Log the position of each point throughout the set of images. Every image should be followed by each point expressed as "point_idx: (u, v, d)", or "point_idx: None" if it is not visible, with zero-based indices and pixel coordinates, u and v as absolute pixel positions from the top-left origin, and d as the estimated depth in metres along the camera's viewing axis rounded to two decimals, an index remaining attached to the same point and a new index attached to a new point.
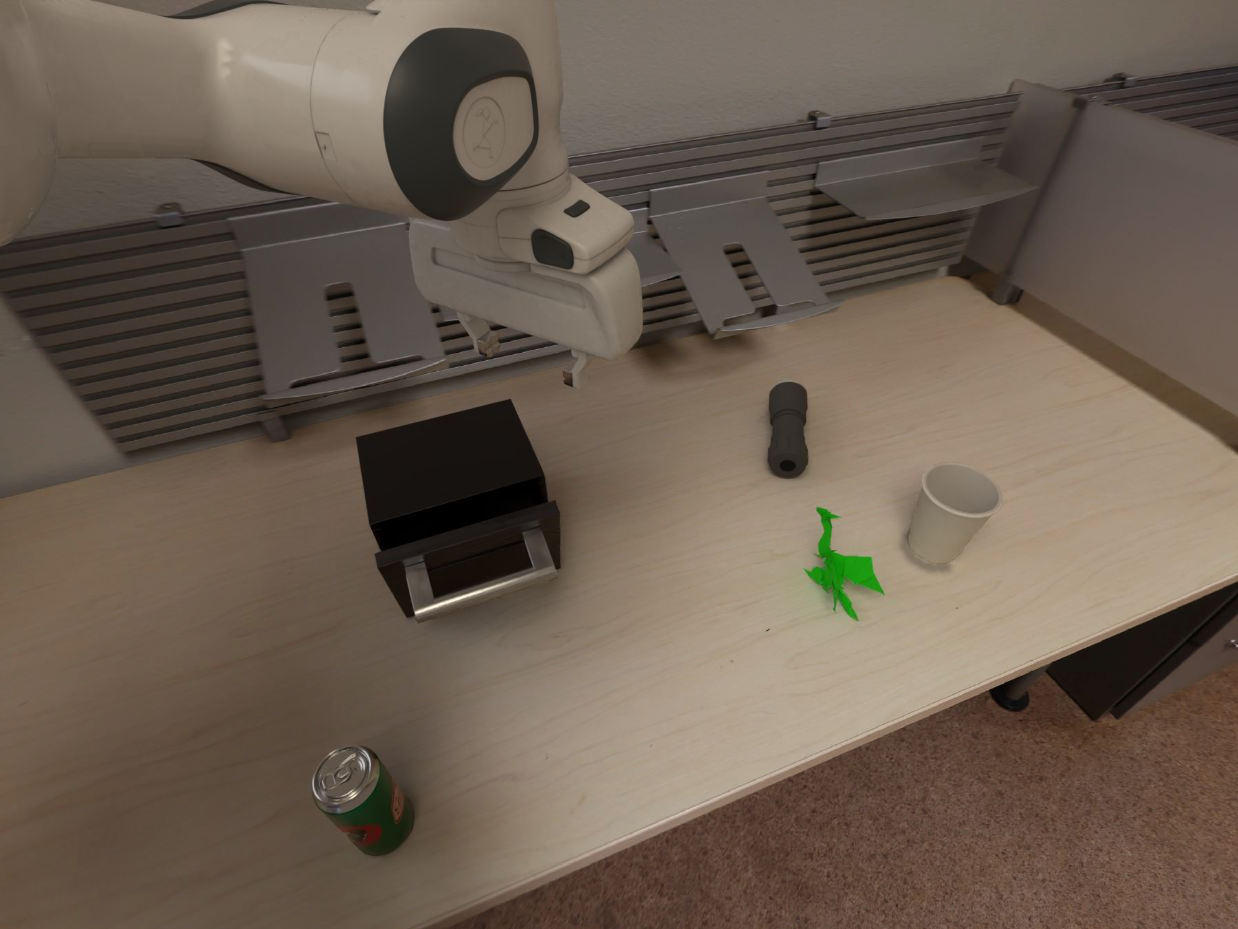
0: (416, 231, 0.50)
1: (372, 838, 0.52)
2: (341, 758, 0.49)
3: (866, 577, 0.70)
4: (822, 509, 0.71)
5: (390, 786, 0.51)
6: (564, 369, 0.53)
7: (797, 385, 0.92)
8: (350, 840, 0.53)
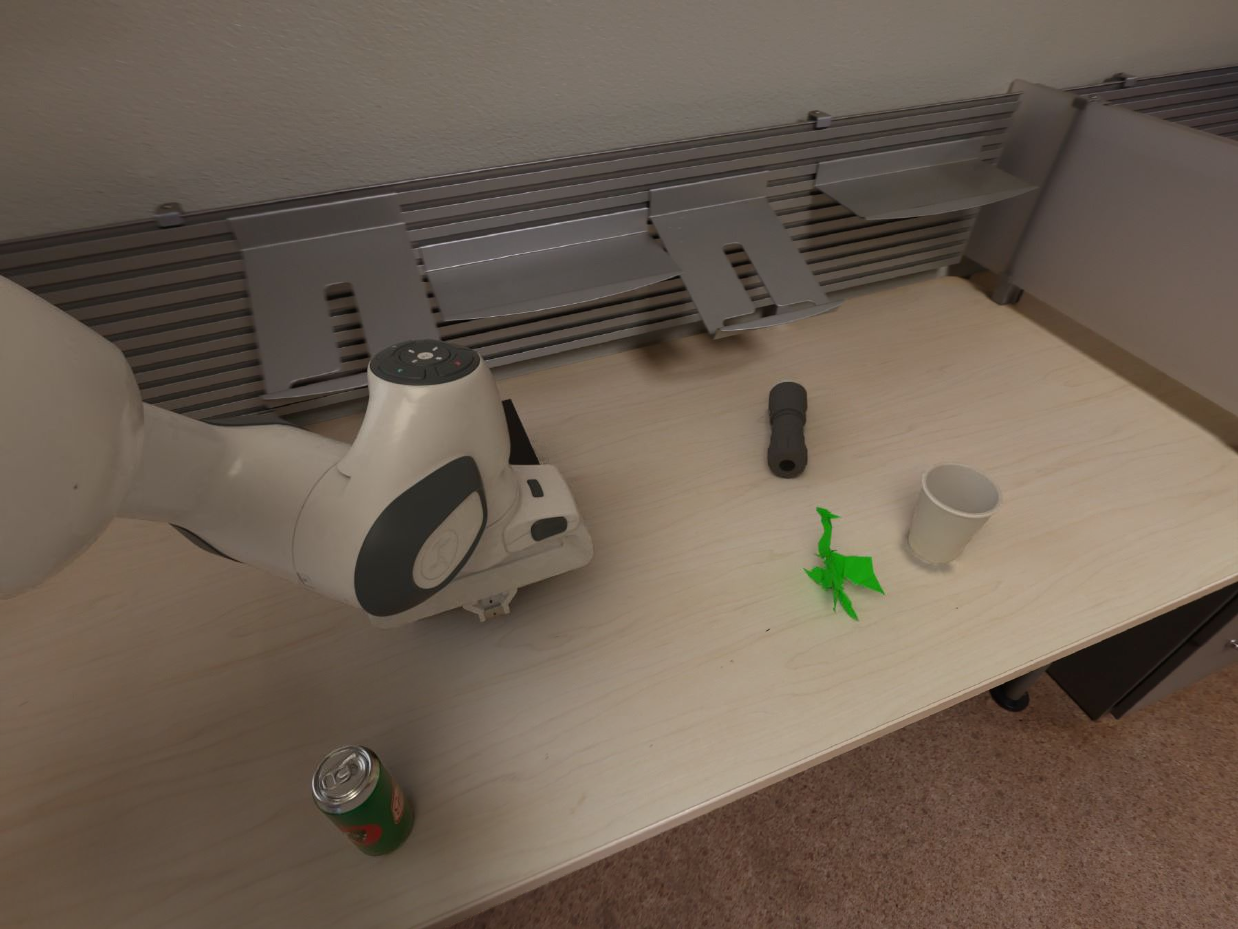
0: None
1: (372, 838, 0.52)
2: (341, 758, 0.49)
3: (866, 577, 0.70)
4: (822, 509, 0.71)
5: (390, 786, 0.51)
6: (494, 607, 0.61)
7: (797, 385, 0.92)
8: (350, 840, 0.53)
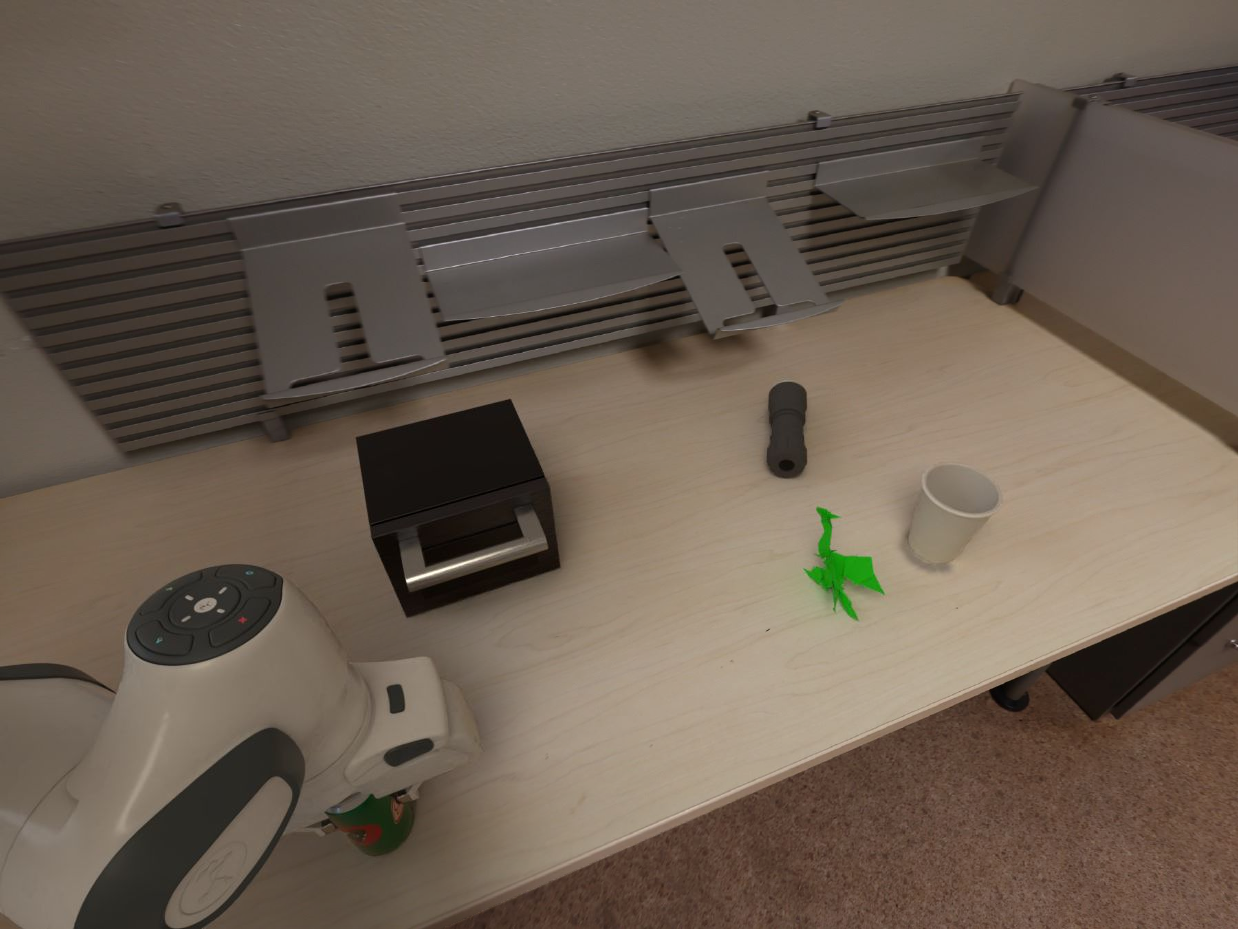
0: None
1: (372, 838, 0.52)
2: None
3: (866, 577, 0.70)
4: (822, 509, 0.71)
5: None
6: (398, 797, 0.52)
7: (796, 385, 0.92)
8: (350, 840, 0.53)
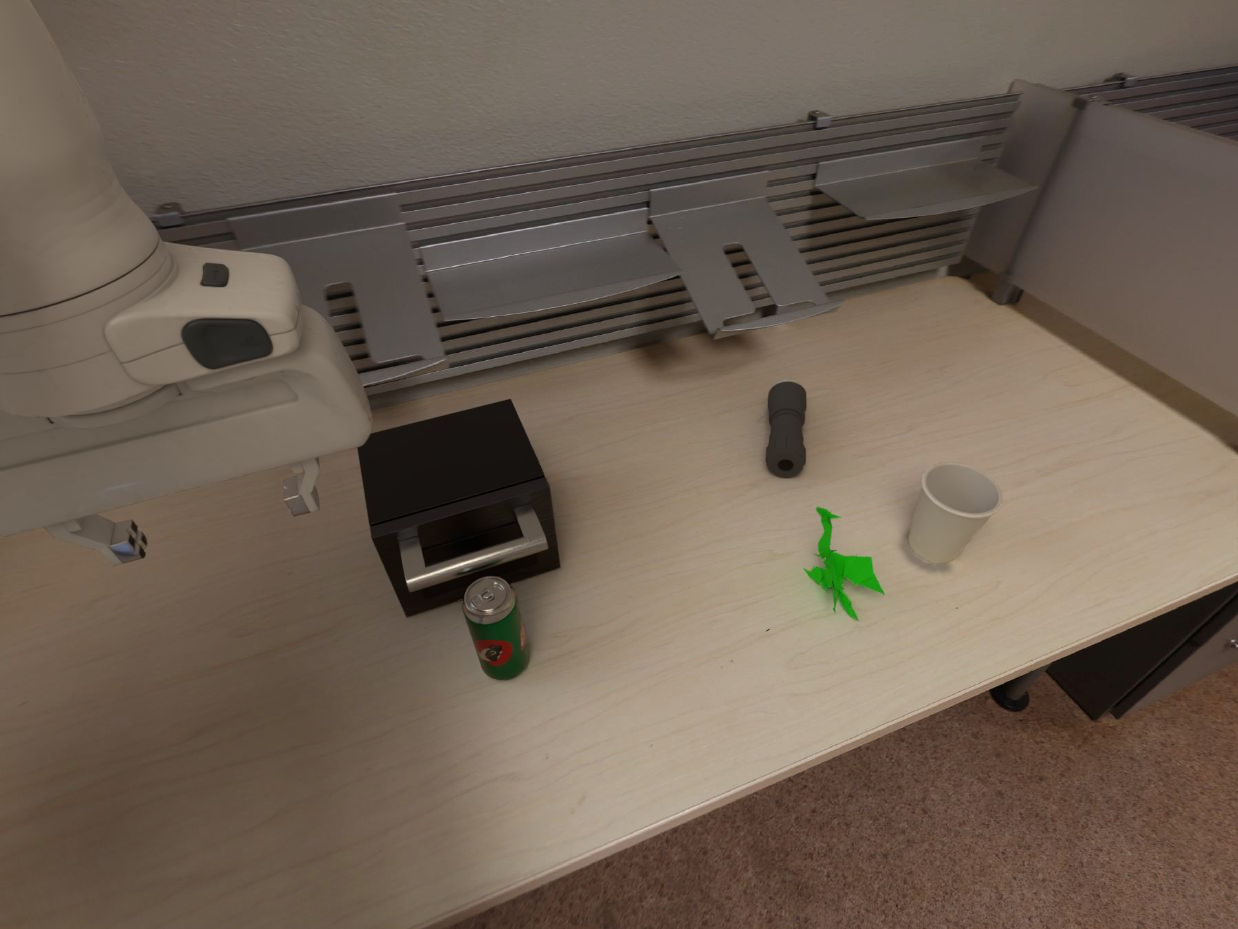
0: None
1: (505, 657, 0.63)
2: (485, 584, 0.60)
3: (866, 577, 0.70)
4: (822, 509, 0.71)
5: (520, 614, 0.62)
6: (286, 498, 0.37)
7: (796, 385, 0.92)
8: (484, 662, 0.64)
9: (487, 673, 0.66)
